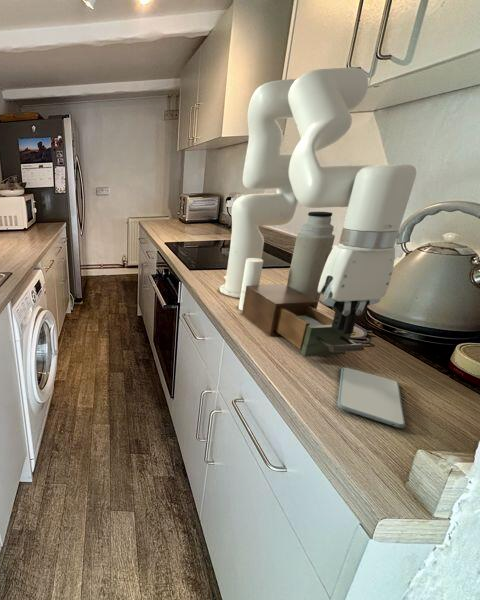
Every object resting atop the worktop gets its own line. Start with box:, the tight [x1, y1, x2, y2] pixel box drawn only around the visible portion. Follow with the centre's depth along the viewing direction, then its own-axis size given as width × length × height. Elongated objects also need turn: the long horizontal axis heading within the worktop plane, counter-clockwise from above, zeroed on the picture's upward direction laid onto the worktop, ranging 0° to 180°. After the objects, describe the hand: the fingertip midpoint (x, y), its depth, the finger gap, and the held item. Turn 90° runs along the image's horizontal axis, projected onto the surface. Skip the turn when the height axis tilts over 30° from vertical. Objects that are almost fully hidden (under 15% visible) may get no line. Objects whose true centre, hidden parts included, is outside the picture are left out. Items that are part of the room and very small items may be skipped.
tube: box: [238, 258, 264, 312], centre depth 91 cm, size 4×4×15 cm
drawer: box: [274, 305, 365, 357], centre depth 70 cm, size 17×9×7 cm, turn 2°
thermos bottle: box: [286, 211, 336, 310], centre depth 85 cm, size 8×8×28 cm
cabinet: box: [241, 283, 319, 337], centre depth 83 cm, size 14×10×9 cm
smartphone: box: [336, 366, 406, 429], centre depth 56 cm, size 8×1×15 cm
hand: (341, 331), depth 63 cm, fingers closed
